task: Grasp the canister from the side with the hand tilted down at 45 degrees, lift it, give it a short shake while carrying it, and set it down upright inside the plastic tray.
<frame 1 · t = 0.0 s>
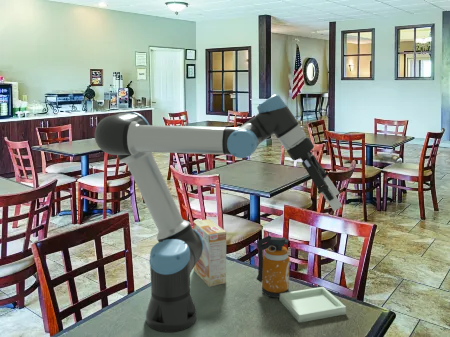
hand: (336, 201, 136), 36 cm above the table, tool tilted 35°, fingers open, 13 cm apart
coffeecake box: (209, 277, 168), on the table
tray: (311, 307, 147), on the table
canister: (272, 292, 156), on the table
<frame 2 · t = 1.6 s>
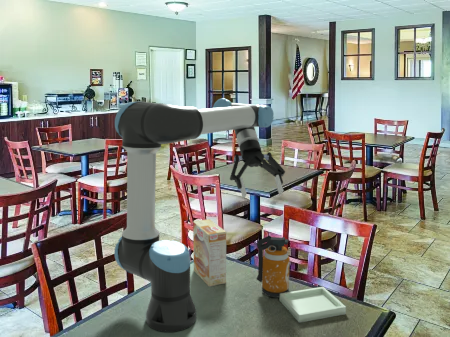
hand: (263, 194, 158), 32 cm above the table, tool tilted 45°, fingers open, 13 cm apart
nothing on the table moved.
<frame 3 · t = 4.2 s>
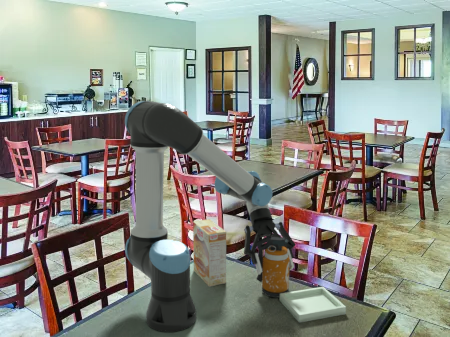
hand: (276, 270, 152), 9 cm above the table, tool tilted 45°, fingers open, 11 cm apart
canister: (272, 292, 156), on the table, touching gripper
everything else where it was.
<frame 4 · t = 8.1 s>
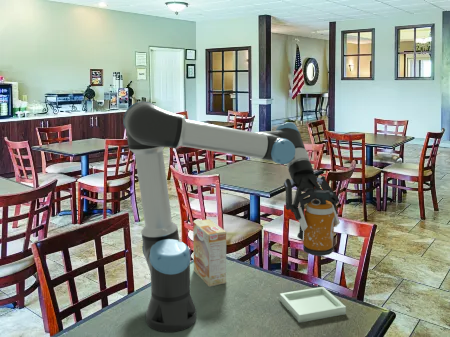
hand: (321, 226, 138), 28 cm above the table, tool tilted 45°, fingers closed on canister, 10 cm apart
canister: (314, 252, 143), point 19 cm above the table, touching gripper
everything else where it was.
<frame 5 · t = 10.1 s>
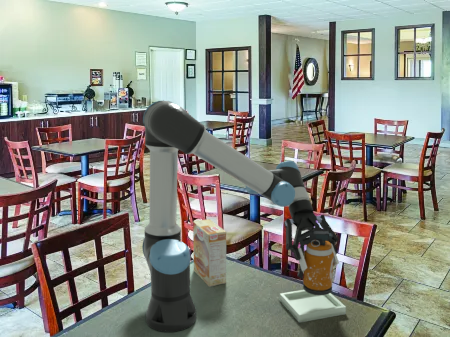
hand: (320, 267, 141), 15 cm above the table, tool tilted 45°, fingers closed on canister, 10 cm apart
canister: (314, 290, 146), point 6 cm above the table, touching gripper
everything else where it was.
when the fingers open (11 cm above the table, at t = 11.6 s): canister drops 1 cm, resting on tray.
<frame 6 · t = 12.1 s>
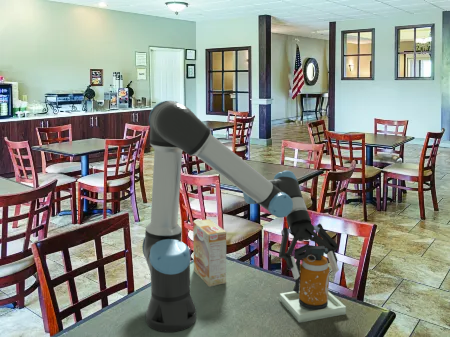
hand: (317, 275, 142), 12 cm above the table, tool tilted 45°, fingers open, 13 cm apart
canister: (309, 304, 146), point 1 cm above the table, touching tray
everything else where it was.
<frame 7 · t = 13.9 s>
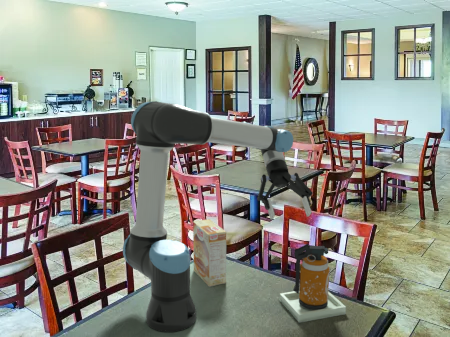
hand: (291, 216, 156), 25 cm above the table, tool tilted 45°, fingers open, 13 cm apart
nothing on the table moved.
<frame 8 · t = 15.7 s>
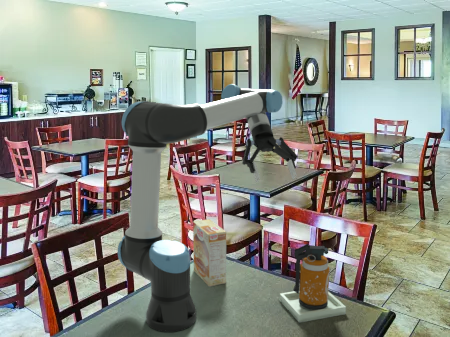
hand: (276, 178, 156), 38 cm above the table, tool tilted 45°, fingers open, 13 cm apart
nothing on the table moved.
at the end: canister inside the target area on the tray (0.6 cm from its centre), point 0.8 cm above the tray's base; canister tilted 0°; the gripper is holding nothing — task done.
